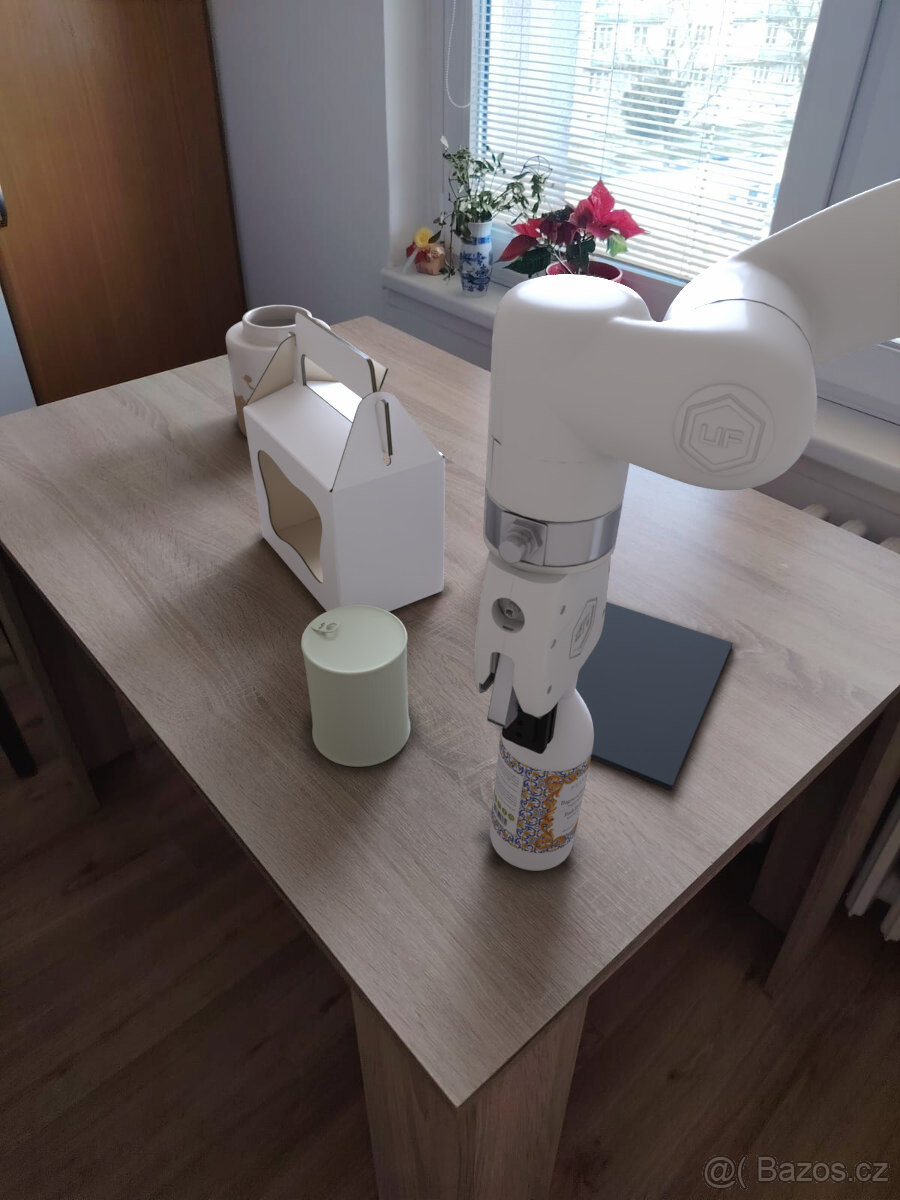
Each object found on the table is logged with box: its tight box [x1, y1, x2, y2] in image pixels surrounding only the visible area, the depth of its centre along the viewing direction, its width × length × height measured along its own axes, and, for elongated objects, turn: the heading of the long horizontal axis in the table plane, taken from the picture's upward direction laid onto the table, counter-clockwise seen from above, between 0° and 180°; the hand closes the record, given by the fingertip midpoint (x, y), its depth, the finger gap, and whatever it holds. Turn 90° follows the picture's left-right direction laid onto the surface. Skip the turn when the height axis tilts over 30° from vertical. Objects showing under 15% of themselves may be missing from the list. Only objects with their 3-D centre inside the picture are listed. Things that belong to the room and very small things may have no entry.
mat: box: [576, 601, 734, 791], centre depth 83 cm, size 22×16×1 cm
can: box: [300, 605, 411, 768], centre depth 74 cm, size 9×9×12 cm
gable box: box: [243, 312, 446, 612], centre depth 91 cm, size 22×13×28 cm, turn 33°
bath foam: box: [489, 672, 594, 872], centre depth 63 cm, size 7×7×20 cm
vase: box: [225, 304, 332, 438], centre depth 123 cm, size 15×15×17 cm
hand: (527, 738), depth 57 cm, fingers closed
